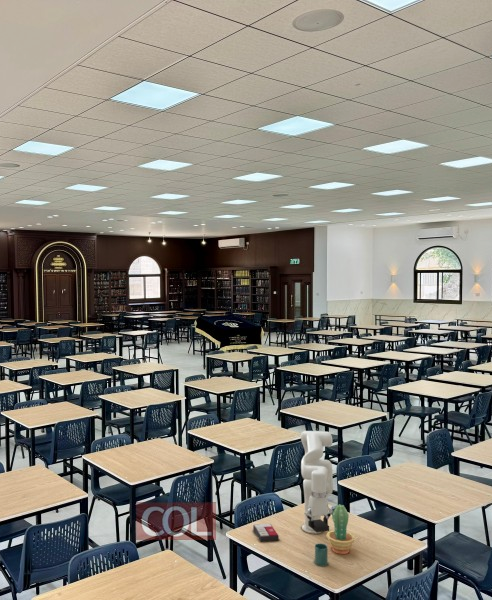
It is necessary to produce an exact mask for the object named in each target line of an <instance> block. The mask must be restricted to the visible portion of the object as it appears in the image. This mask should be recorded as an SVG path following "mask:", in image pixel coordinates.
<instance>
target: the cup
mask: <svg viewBox="0 0 492 600" xmlns="http://www.w3.org/2000/svg"><path fill="white" fill-rule="evenodd" d="M328 549H329V547H328V545H326V543H325V544H324V543H316V544H315V545H314V564H316V565H317V566H318V567H319V566H320V567H326V566H328V563H329V562H328V559H329V558H328V555H329V554H328V553H329V551H328Z"/></svg>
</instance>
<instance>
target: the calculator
mask: <svg viewBox="0 0 492 600" xmlns="http://www.w3.org/2000/svg"><path fill="white" fill-rule="evenodd" d="M252 526H253V529H252V531H253V533H254V534H255V535H256V537H257V538H258V540H259V542H261V543H263V542H264V543H265V542H278V541H279V540H280V539H279V537H280V535H279V534H278V532H277V531H276V530H275V528H274V526H273V525H272V523H258V524H253V525H252Z"/></svg>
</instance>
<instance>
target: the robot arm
mask: <svg viewBox="0 0 492 600" xmlns="http://www.w3.org/2000/svg"><path fill="white" fill-rule="evenodd" d="M331 433H332V432H330V431H321V430H304V431H302V432H301V433H300V441H301V444H302V446H303V449H304V455H303V456H302V458H301V462H300V473H301V477H302V479H303V482H302V487H303V495H304V524H302V525H301V530H302V531H303V532H305V533H308V534H314V535H315V534H316V535H317V534H318V535H319V534H321V533H322V532H315V531H314V530H313V529H314V521H313V520H319V519H321V517H323V519H321V520H322V521H323V522H325V523H326V524H327V525H328V526H329V519H330V517H332V515H331V514H332V512H333V510H331V507H329V500H328V497H327V496H330V495H332V494H333V491H334V479H333V477H334V476H333V463H332V461H330V460H328V459H322V457H323V456H324V449H323V447H326V448H327V447H329V448H330V447H332V445H333V436H332V434H331ZM308 521H309V525H310V526H308Z"/></svg>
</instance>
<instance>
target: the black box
mask: <svg viewBox="0 0 492 600" xmlns="http://www.w3.org/2000/svg"><path fill="white" fill-rule="evenodd" d="M313 521H314V529H313V530H314V531H315V532H321V533H323V532H330V525H329V524H328V525H327V524H326V523H325V522H323V519H319V520H313ZM308 526H310V525H309V521H308Z"/></svg>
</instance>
